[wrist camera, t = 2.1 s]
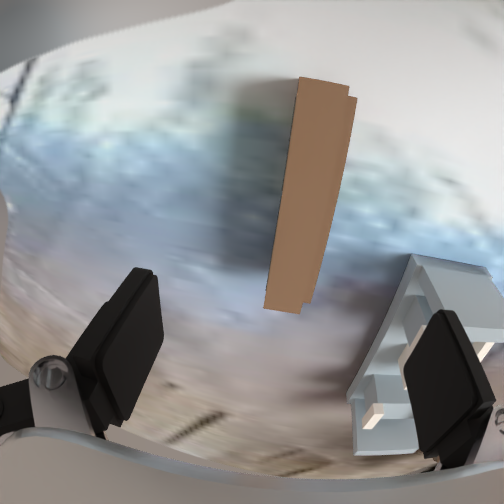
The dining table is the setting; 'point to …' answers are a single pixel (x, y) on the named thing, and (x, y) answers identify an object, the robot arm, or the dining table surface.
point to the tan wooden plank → (309, 191)
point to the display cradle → (405, 339)
